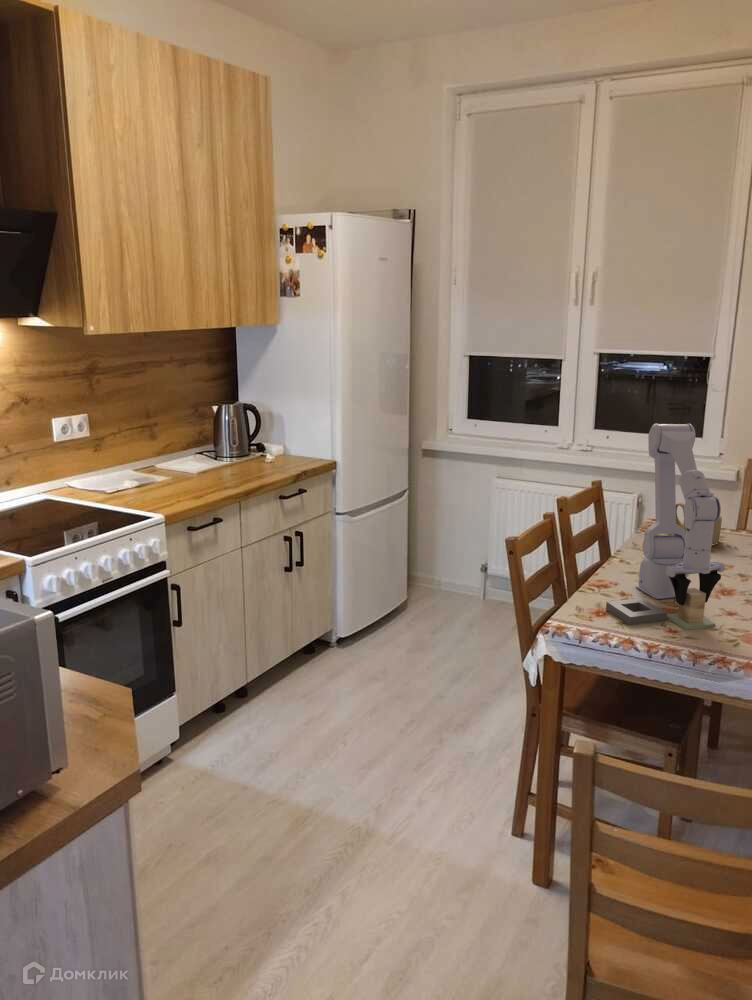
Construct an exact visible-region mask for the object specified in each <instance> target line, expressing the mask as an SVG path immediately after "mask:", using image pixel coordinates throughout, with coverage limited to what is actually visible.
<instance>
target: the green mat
mask: <svg viewBox="0 0 752 1000" xmlns="http://www.w3.org/2000/svg"><path fill="white" fill-rule="evenodd" d="M666 620H669V621H670V622H672V623H674V624H676V625H677V626H680V627H681V628H682V629H684V630H685V631H687V630H694V629H697V630H698V629H705V628H710V627H716V623H715V622H713V621H711V620H709V619H708V618H706V617H705V616H704V617H703V622H695V623H687V622H685V621H684V620H682V619H680V618H678V612H676V613H675V612H674V613H667V618H666Z"/></svg>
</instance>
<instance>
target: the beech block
mask: <svg viewBox="0 0 752 1000" xmlns="http://www.w3.org/2000/svg"><path fill="white" fill-rule="evenodd" d="M705 599H706V593H704V592H702V591H700V590H699V588H696V587H690V588H689V587H688V589H687V593H686V600H685V604H684V605H680V604H678V609H677V613H678V618H680V619H682V620H684V621H685V622H687V623H695V622H703V617H704V618H705V616H704V615H705V606H706V603H705Z"/></svg>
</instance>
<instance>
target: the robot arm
mask: <svg viewBox="0 0 752 1000" xmlns="http://www.w3.org/2000/svg"><path fill="white" fill-rule="evenodd" d="M647 437H648V456H649V457H650V458H652V459H654V485H655V486H654V487H655V488H654V491H655V492H654V494H655V497H654V498H655V499H654V501H655V504H654V505H655V512H654V513H655V522H654V523H653V524H651V526H648V527H647V528H646V530H644V535H643V536H644V537H643V541H642V553H643V555H644V558H643V559H641V562H640V566H639V575H638V584H636V585H635V588H636V589H638V590H639V591H640V590H641V592H643V593H644V594H647V595H649V596H650V597H652V598H654V599H656V600H663V599H671V598H675V602H676V604H677V605H679V604H680V605H684V604H685V600H686V593H687V589H688V588H689V586H690V584H691V582H692V581H691V579H689V578H688V577H687V575H694V574H695V575H696V574H698V578H699V588H698V590H700V591H702V592H704V593H706V599H705V604H706V603H708V601H709V598H710V597H711V594H712V592H713V589H715V587H716V585H717V584H718V582H720V580H721V579H722V578H721V577H722V574H721V573H724V571H725V563H723V562H721V561H711V553H712V537H713V529H714V522H713V521H717V520H718V519H719V517H720V516H721V513H722V512H721V511H722V509H721V508H722V507H721V502H720V499H719V497H718V496H716V495H715V493H713V492H711V491H710V488H709V484H708V483H707V479H706V478H705V474H704V473H703V471H700V470H698V468H697V465H696V460H695V457H694V456H695V455H694V451H693V449H694V445H695V442H696V430H695V427H694V426H693V425H692V424H691V423H684V424H681V423H677V424H674V423H654V424H652V426H651V427H650V430H649V432H648V436H647ZM676 465H677V468H678V470H679V472H680V474H681V475H680V476H679V479H678V483H679V487H680V489H681V492H682V495H683V498H684V501H685V503H684V504H685V506H684V513H683V516H684V515H685V527H687V528H686V533H685V530H684V529H682V528H681V527H680V526H679V525H677V524H676V504H677V503H676V501H677V499H676V497H677V496H676ZM658 534H659V535H658ZM660 534H661V535H660ZM662 534H667V535H662ZM668 534H670V535H668ZM681 560H683V563H681ZM678 563H680V564H678ZM718 572H719V573H718Z"/></svg>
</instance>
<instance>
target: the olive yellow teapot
mask: <svg viewBox="0 0 752 1000" xmlns="http://www.w3.org/2000/svg"><path fill="white" fill-rule="evenodd" d="M679 506H680V507H681V508H682V513H683V522H681V521H680V519H679V516H678V507H679ZM684 506H685V503H683V502H678V503H676V524H677V525H679V526H680V527H681V528H682V529H684V530H685V533H686V528H687V527H685V515H684ZM722 521H723V517H722V516H721V515H720V517H719V519H718V520H717V521H713V522H714V529H713V537H712V544H716V543H718V542H720V536H721V531H722V530H721V529H722ZM682 523H683V524H682ZM718 544H719V543H718Z"/></svg>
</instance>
